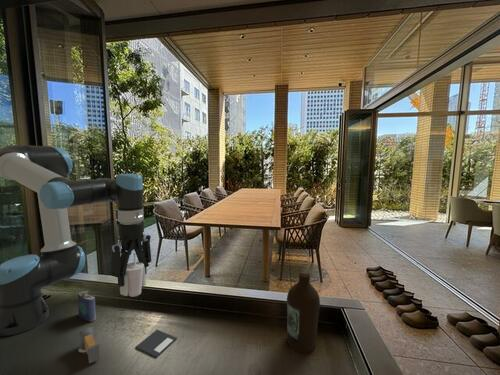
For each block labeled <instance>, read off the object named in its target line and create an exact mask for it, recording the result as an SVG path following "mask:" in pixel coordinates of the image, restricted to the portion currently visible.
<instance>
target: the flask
mask: <svg viewBox="0 0 500 375" xmlns="http://www.w3.org/2000/svg"><path fill="white" fill-rule="evenodd" d="M77 303H78V304H77V305H78V307H77V308H78V318H79V319H80V320H83V321H85V322H87V323H94V322H96V320H97V314H96V313H97V312H96V297H95V296H93V295H90V294H89V290H87V291H86V290H83V291H80V292H78V293H77Z"/></svg>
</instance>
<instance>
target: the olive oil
mask: <svg viewBox="0 0 500 375" xmlns="http://www.w3.org/2000/svg"><path fill="white" fill-rule="evenodd" d="M310 277H311V276H310V271H309V270H308V269H305V268H304V269H300V270H299V274H298V281H297V282H296V283H295V284H294V285H292V286H291V287H290V288H289V290H288V292H287V296H286V315H287V316H286V323H287V324H286V326H287V327H286V328H287V329H286V333H287V334H286V340H287V344H288V346H289V347H290V348H291V349H292V350H294V351H296V352H299V353H305V354H307V353H310V352H312V351H314V350H315V348H316V344H317V336H318V335H317V334H318V323H319V316H320V307H321V306H320V305H321V300H320V298H321V297H320V296H319V292H318V291H317V290H316V288H315V287H314V286H313V285H312V284H311V283H310Z"/></svg>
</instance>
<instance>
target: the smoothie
mask: <svg viewBox="0 0 500 375" xmlns="http://www.w3.org/2000/svg"><path fill="white" fill-rule="evenodd" d="M136 258H137V255H136V253H135V252H134V253H133V262H130V263H129V262H128V264H127V269H126V273H125V275H127V279H128V296H130V297H131V298H132V297H138V296H139V295H141V294H142V289H143V288H142V287H143V286H142V277H143V269H144V264H143V263H141V262H139V261H137V259H136Z"/></svg>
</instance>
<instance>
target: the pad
mask: <svg viewBox="0 0 500 375" xmlns="http://www.w3.org/2000/svg"><path fill="white" fill-rule="evenodd" d="M177 340H178V337H176V336H174V335H171V334H169V333H166V332H164V331H162V330H159V329H156V330H154V331H153V332H152V333H151V334H150V335H148V336H147V337H146V338H145V339H143V340H142V341H141V342H139V343H138V344H137V345H136V346H135V349H137V350H139V351H141V352H143V353H145V354H148V355H149V356H152V357H153V358H155V359H157V358H159V357H160V355H162V354H163V353H164V352H165V351H166V350H167V349H168V348H169V347H171V345H172V344H173V343H174V342H176V341H177Z"/></svg>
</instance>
